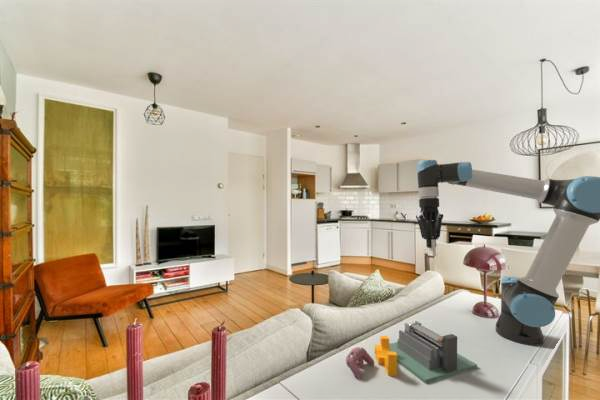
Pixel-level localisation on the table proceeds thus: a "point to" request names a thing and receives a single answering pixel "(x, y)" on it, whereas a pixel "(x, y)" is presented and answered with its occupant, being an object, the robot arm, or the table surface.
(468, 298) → the table surface
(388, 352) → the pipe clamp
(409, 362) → the heat sink board
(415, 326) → the retention strap
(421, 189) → the robot arm
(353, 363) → the video game controller
